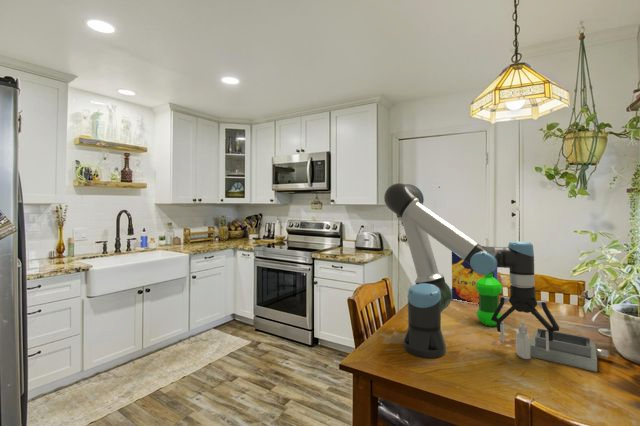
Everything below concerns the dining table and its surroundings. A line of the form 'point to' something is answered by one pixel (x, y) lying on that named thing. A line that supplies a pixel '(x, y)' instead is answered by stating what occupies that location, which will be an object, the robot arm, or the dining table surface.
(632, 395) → the dining table surface
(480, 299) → the plastic bottle
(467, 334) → the dining table surface
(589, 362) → the grey rectangular open box
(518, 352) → the eye dropper bottle
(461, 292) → the cereal box
